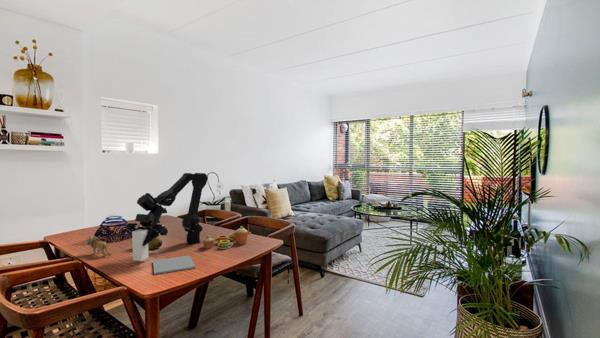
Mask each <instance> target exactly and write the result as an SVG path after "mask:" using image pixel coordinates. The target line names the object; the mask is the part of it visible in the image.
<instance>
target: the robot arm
mask: <svg viewBox="0 0 600 338" xmlns="http://www.w3.org/2000/svg"><path fill="white" fill-rule="evenodd" d="M208 177H209V176H208V175H207V174H206V173H205V172H194V173H192V172H184V173H183V174H182V175H181V176H180V178H178V180H177V181H176V182H174V184H173V185H172V186H171V187H170V188H168V189H167V190H165V191H163V192H161V193H159V194H158V195H157V196H156V197H154V196H153V195H152V194H151V193H149V192H146V193H145V194H143V195H141V196H140V197H139V198H138V199H137V201H136V204H137V205H139V207H140V208H142V209H143V210H144V211H146V212H148V211H149V212H148V213H147V214H146V213H137V214H136V216H135V219H134V221H135V222H128V223H127V226H126V228H127V229H128V230H129V232H131V233H132V232H133V231H136V230H139V229H143V230H148V234H147V236H146V238H145V240H144V242H143V244H142V245H143V246H145V245H146V244H148V243H149V242H150V241H152V240H153V239H154V238H156V237H158V238H160V236H168V235H167V234H168V233H169V229H168V228H167V227H166V226H165V225H164V224H161V223H160V222H161V221H160V219H161V217H162V215H163V214H168V211H167V208H166V207H171V206H172V205H173V203H174V202H175V201H176V197H177V195H178V194H179V193H180V192H181V191H182V190H183V189H184V188H185V187H186V186H187V185H188V184H189V183H190V182H191V184H192V192H191V197H190V202H189V207H188V211H187V214H186V215H183V216H182V221H181V223H182V228H183V229H184V232H186V234H185V239H186V240H185V241H186V243H187V245H192V244H193V245H194V244H200V243H201V240H200V239H201V238H200V236H201V235H200V233H201V232H202V231H203V230H204V229H203V226H202V225H201V224H200V218H199V216H198V212H199V207H200V202H201V197H202V192H203V189H204V188H205V186H206V185H207V183H208V179H209V178H208ZM136 222H138V223H139V224H138V223H136ZM126 228H125V229H126Z"/></svg>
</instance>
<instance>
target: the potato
mask: <svg viewBox="0 0 600 338" xmlns="http://www.w3.org/2000/svg"><path fill="white" fill-rule="evenodd" d="M162 246H163V240H162V239H161V238H160V237H156V238H154V239H153V240H152V241H150V242H149V243H148V250H149V249H150V250H153V249H159V248H161V247H162Z"/></svg>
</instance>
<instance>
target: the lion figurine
mask: <svg viewBox="0 0 600 338" xmlns="http://www.w3.org/2000/svg"><path fill="white" fill-rule="evenodd" d="M88 237H89V238H87V239H86V240H85V241H84V243H86V245H89V246H91V248H92V250H93V253H92V256H95V255H97V254H100V253H101V254H102V257H101V258H105V257H106V256H107V255H108V256H112V254H111V253H109V252H108V243H106V242H107V241H105V242H103V241H102V240H101V241H100V239H101V238H97V237H96V236H94V235H90V236H88ZM104 250H105V251H104Z"/></svg>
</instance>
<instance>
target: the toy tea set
mask: <svg viewBox="0 0 600 338" xmlns="http://www.w3.org/2000/svg"><path fill="white" fill-rule="evenodd" d="M251 234H252V233H251V231H248V230H247V229H246V228H244V227H243V226H240V227H239V228H238V229H236V230H235V231H234V232H231V233H228V235H225V234H224V235H221V234H220V235H218V236H217V237H216V238H212V237H210V235H208V234H207V235H206V237H205V238H203V239H202V245H203V249H207V250H208V249H213V248H214V242H217V246H218V249H219V250H227V249H228V250H229V249H231V248H232V246H233V245H234V243H231V242H235V243H236V244H237V245H245V244H247V243H248V237H249V235H251Z"/></svg>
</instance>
